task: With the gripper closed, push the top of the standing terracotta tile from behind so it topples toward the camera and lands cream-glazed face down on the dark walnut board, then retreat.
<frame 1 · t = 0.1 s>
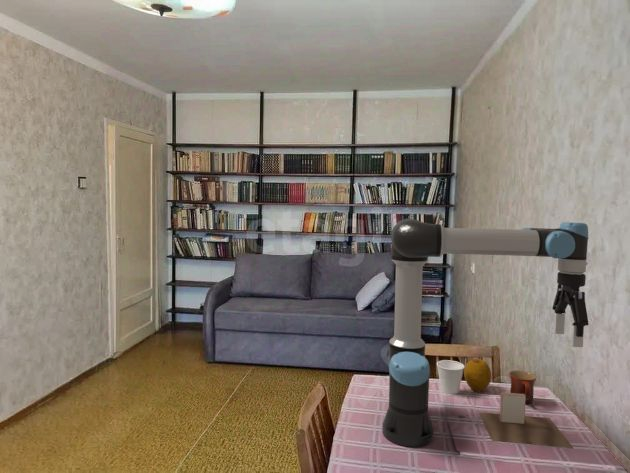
hand: (567, 340, 137), 28 cm above the table, fingers open, 13 cm apart
tile: (511, 421, 139), point 1 cm above the table, touching board
board: (522, 432, 134), on the table
cup: (449, 394, 162), on the table
apple: (477, 389, 166), on the table
mug: (522, 405, 153), on the table
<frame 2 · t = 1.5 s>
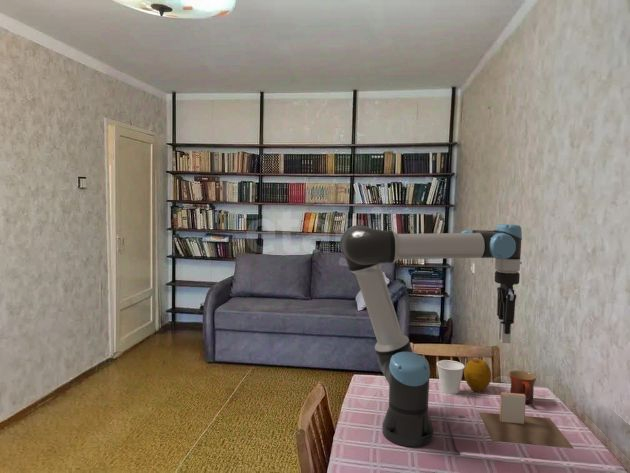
hand: (504, 340, 146), 25 cm above the table, fingers open, 3 cm apart
nothing on the table moved.
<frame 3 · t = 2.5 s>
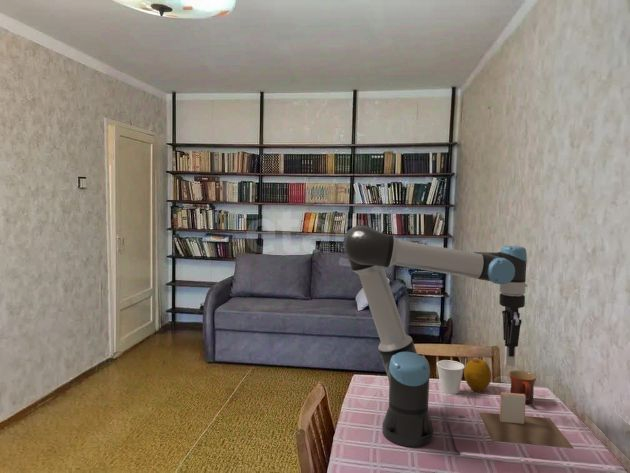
hand: (509, 364, 143), 18 cm above the table, fingers closed
nothing on the table moved.
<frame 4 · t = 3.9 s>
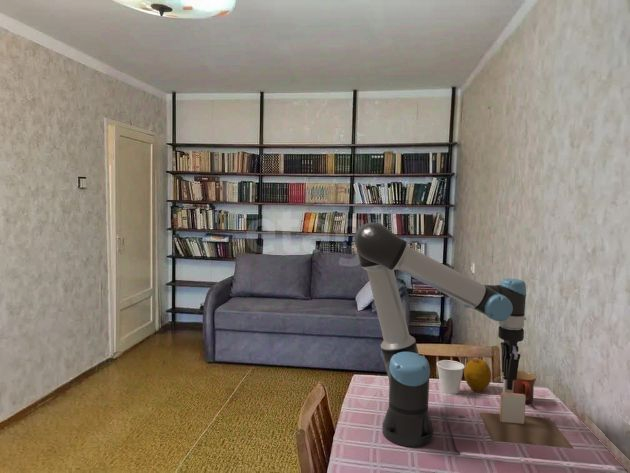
hand: (507, 397, 143), 7 cm above the table, fingers closed
nothing on the table moved.
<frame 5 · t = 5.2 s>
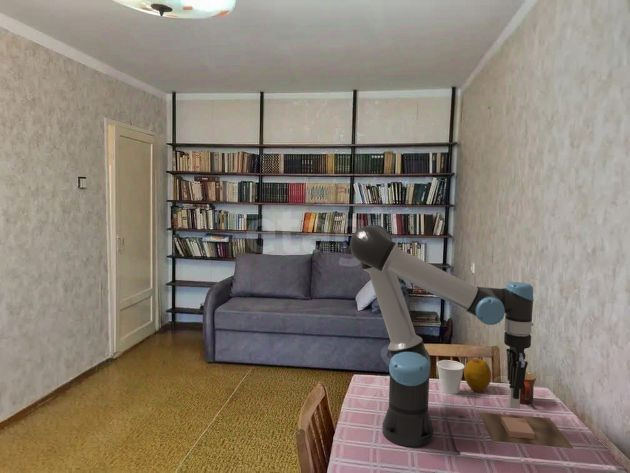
hand: (514, 407, 137), 7 cm above the table, fingers closed
tile: (512, 420, 138), point 2 cm above the table, tilted 90°, touching board
everything else where it was.
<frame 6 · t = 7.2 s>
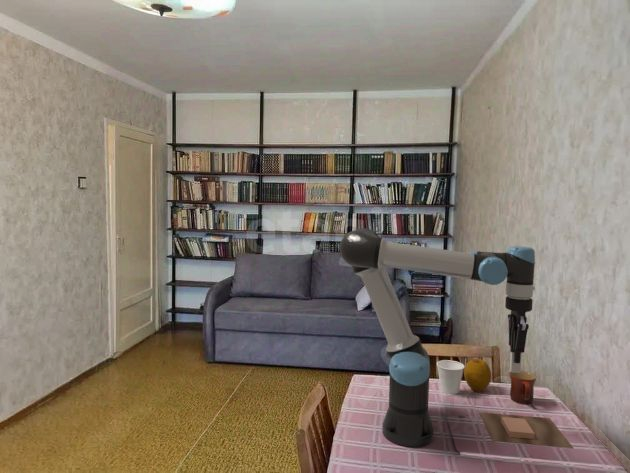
hand: (515, 371, 136), 18 cm above the table, fingers closed
nothing on the table moved.
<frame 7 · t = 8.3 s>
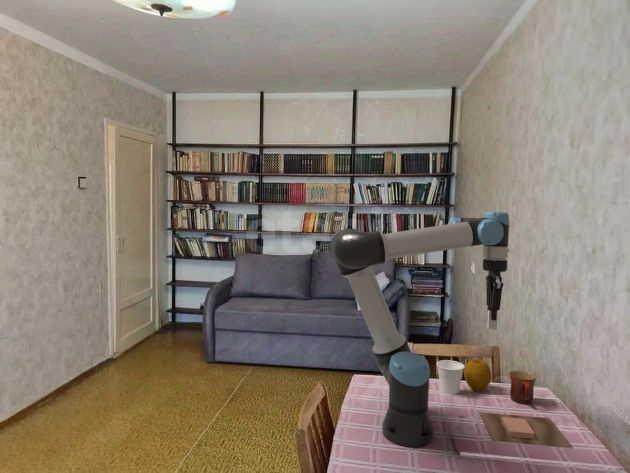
hand: (492, 328, 146), 28 cm above the table, fingers closed
nothing on the table moved.
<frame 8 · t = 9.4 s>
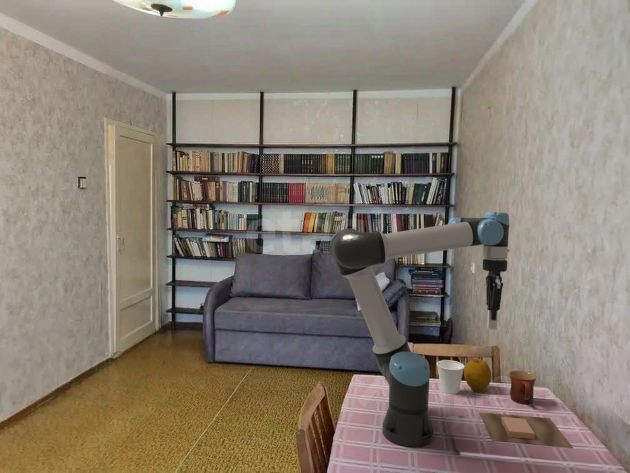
hand: (492, 328, 146), 28 cm above the table, fingers closed
nothing on the table moved.
at the end: tile tilted 90°; tile inside the target area (3.7 cm from its centre), point 2.1 cm above the table; tile touching board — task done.
